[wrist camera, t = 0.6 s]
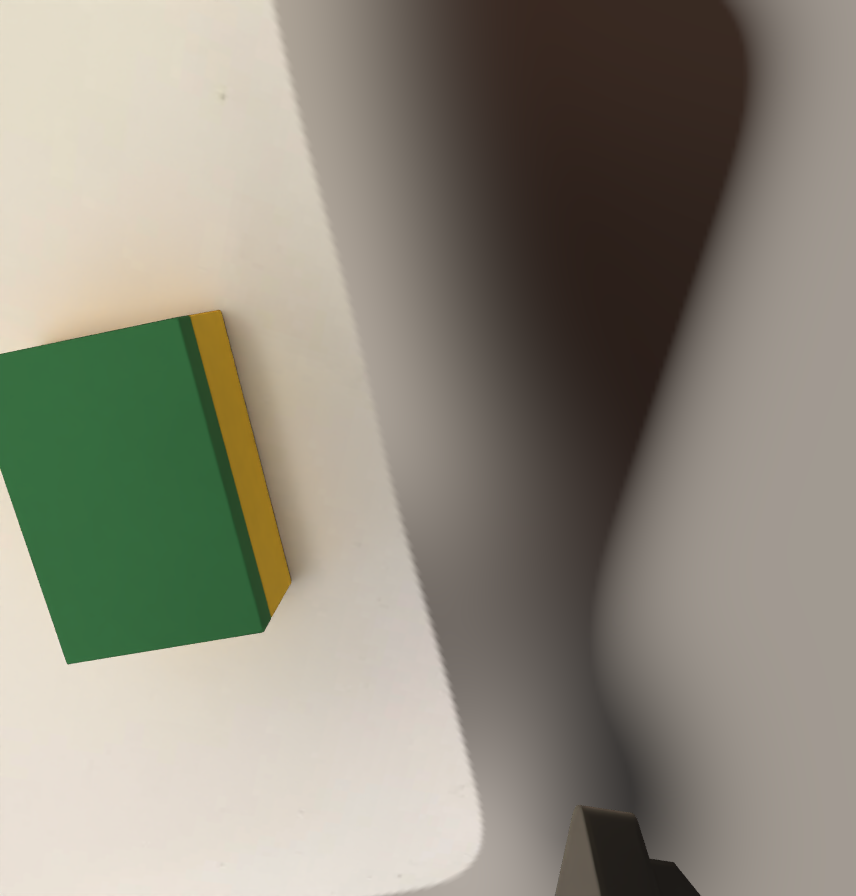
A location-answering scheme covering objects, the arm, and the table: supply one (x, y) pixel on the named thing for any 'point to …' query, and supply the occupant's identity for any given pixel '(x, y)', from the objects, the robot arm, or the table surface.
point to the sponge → (140, 488)
